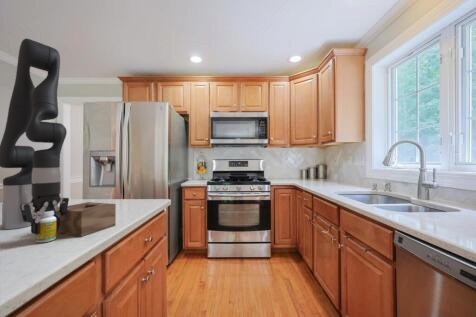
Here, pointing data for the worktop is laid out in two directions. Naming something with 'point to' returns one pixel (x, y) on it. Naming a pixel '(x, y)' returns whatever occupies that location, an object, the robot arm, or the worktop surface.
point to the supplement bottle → (47, 227)
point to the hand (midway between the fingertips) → (46, 231)
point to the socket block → (87, 219)
